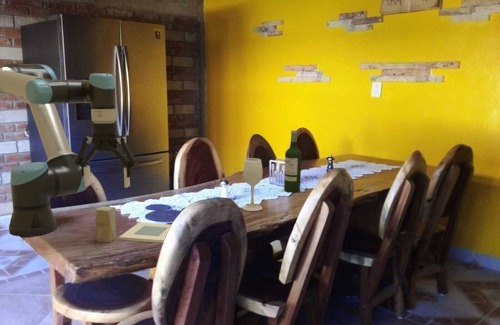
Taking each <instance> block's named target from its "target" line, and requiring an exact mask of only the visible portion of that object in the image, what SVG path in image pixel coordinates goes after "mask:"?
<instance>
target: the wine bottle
mask: <svg viewBox="0 0 500 325" xmlns="http://www.w3.org/2000/svg"><path fill="white" fill-rule="evenodd" d="M297 133H298V132H297V130H291V131H290V145H289V148H288V149H287V150H286V151H285V152H284V153H285V154H284V186H283V191H284V190H285V192H286V193H290V192H292V193H294V194H297V193H299V191H301V180H302V178H301V175H302V151H301V150H300V149H299V148H298V146H297V141H298V140H297V138H298V137H297Z"/></svg>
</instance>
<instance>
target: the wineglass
mask: <svg viewBox="0 0 500 325" xmlns="http://www.w3.org/2000/svg"><path fill="white" fill-rule="evenodd" d="M243 162H244V163H243V169H242V176H243V177H242V179H243V181H244V182H245V183H247V185H249V186H250V190H251V194H250V195H251V196H250V197H251V198H250V204H246V205H243V206H242V207H241V209H243V211H248V212H256V211H261V210H263V207H262V206H261V205H259V204H255V199H254V197H255V196H254V192H255V191H254V190H255V186H256V185H258V184H259V183H260V182H261V181H262V179H263V164H262V159H260V158H253V157H251V158H249V157H248V158H245V159H244V161H243Z"/></svg>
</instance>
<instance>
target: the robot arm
mask: <svg viewBox="0 0 500 325" xmlns="http://www.w3.org/2000/svg"><path fill="white" fill-rule="evenodd" d="M0 94H1V95H11V96H12V95H13V96H14V95H15V96H19V97H21V98H22V100H23V102H24V103H25V104H28V105H29V108H30V110H31V114H32V117H33V119H34V122H35V125H36V128H37V132H38V133H39V137H40V140H41V143H42V145H43V148H44V152H45V154H46V157H47V160H45V162H44V161H36V162H28V163H23V164H20V165H17V166H15V167H13V168H12V169H11V171H10V181H9V183H10V189H11V201H12V214H11V218H10V222H9V224H8V232H9V235H11V236H13V237H34V236H35V237H36V236H40V234H42V235H45V233H46V234H48V233H51V232H53V231H55V230H56V229H57V228H58V223H57V219H56V218H55V214H54V212H53V210H52V208H51V201H50V199H51V198H56V197H61V196H67V195H75V194H77V193H81V192H84V191H85V190H86V189H87V188H88V187H89V186H91V185H92V184H91V182H92V181H91V169H90V168H91V167H90V165H89V163H90V161H92V159H93V158H94V157H95V155H96V154H97V153H98V152H99V151H100V152H104V151H106V152H110V151H111V152H112V154H114V155H115V156H116V157H117V158H118V159H119V160H120V162H122V164H123V165H124V166H125V167H124V168H123V178H124V179H123V180H124V188H125V189H126V188H129V187H131V184H130V183H131V180H130V178H131V177H132V176H133V167H134V166H137V165H138V160H136V157H135V155H134V154H133V151H132V150H131V148H130V146H129V144H128V139H127V137H126V136H122V137H118V136H117V134H118V133H117V132H118V131H117V127H118V126H117V123H116V121H117V111H116V85H115V77H114V75H113V74H111V73H97V72H94V73H91V74H89V78H88V79H57V75H56V74H55V72H54V70H53V69H52V68H51V67H50V66H48V65H46V64H40V63H13V62H10V63H9V62H5V63H4V62H3V63H0ZM56 104H90V109H91V110H90V112H91V121H92V124H91V131H92V136H91V137H90V136H89V135H88V136H84V137H83V139H82V145H81V147H80V150H79V151H78V154H77V153H75V152H72V149H71V146H70V143H69V141H68V138H67V134H66V132H65V129H64V127H63V124H62V121H61V117H60V116H59V113H58V110H57V106H56ZM92 143H93V145H94V146H92V148H91V150H89V147H90V144H92ZM118 143H119V145H120V146H121V148H122V150H123V152H124V153H125V154H124V153H123V152H122V150H121V149H120V147H119V146H118V145H117V144H118ZM88 150H89V152H88ZM87 152H88V154H87ZM86 154H87V155H86Z"/></svg>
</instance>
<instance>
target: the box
mask: <svg viewBox="0 0 500 325" xmlns="http://www.w3.org/2000/svg"><path fill="white" fill-rule="evenodd" d="M116 220H117V219H116V207H114V206H103V205H101V206H100V207H97V208H96V209H95V236H96V237H95V238H96V240H95V241H96V242H100V243H109V242H110V243H111V242H114V240H116V239H117V234H116V233H117V231H116V227H117V226H116Z"/></svg>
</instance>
